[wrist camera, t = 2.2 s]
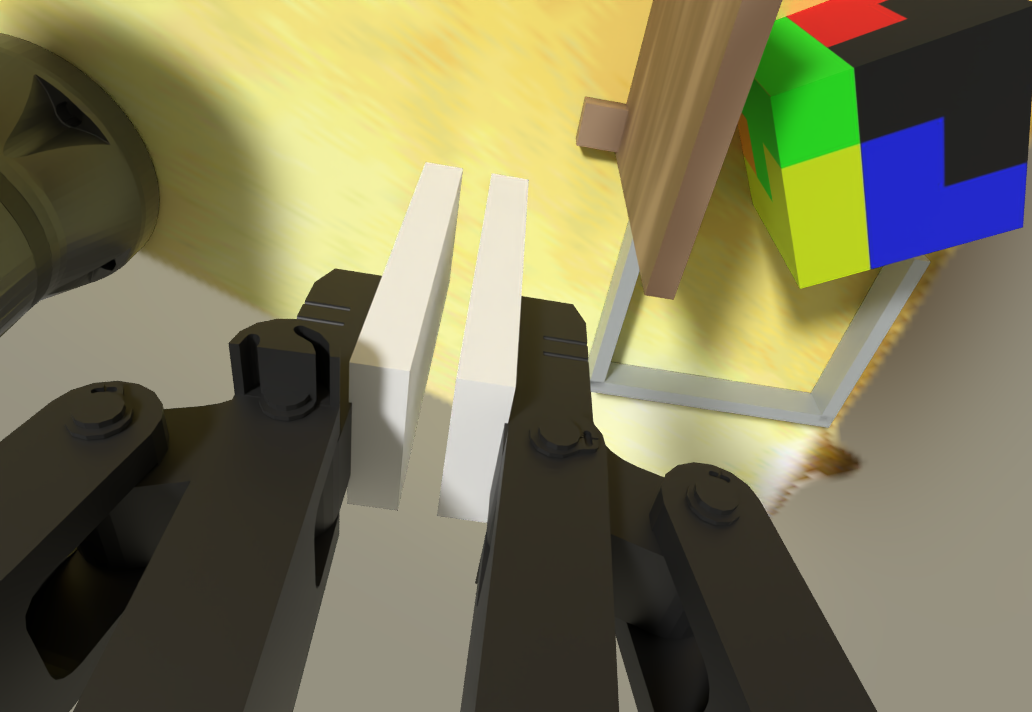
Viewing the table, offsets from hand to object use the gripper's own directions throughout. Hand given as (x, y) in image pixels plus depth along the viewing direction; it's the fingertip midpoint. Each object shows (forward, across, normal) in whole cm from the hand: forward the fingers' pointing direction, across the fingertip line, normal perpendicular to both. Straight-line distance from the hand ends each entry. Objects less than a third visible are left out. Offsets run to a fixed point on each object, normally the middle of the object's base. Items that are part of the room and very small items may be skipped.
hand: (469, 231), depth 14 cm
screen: (+26, -8, 0) cm, 27 cm away
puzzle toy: (+27, -18, +2) cm, 32 cm away
